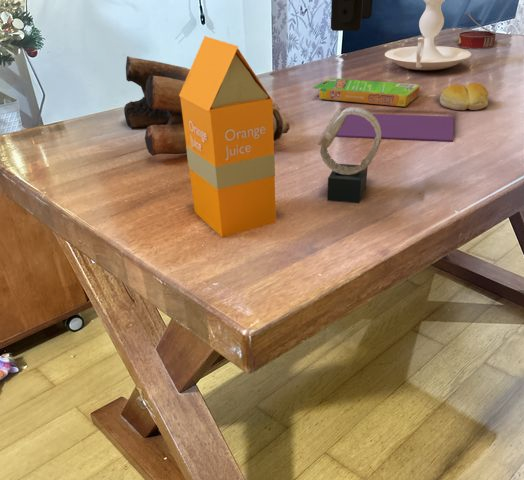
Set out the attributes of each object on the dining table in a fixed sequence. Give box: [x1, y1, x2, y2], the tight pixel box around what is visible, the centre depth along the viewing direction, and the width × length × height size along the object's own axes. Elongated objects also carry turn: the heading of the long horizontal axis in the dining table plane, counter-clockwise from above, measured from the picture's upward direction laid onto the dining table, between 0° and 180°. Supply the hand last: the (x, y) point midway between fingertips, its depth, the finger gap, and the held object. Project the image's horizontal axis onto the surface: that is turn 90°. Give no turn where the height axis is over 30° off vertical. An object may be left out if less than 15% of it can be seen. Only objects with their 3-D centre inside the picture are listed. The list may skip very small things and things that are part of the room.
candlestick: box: [384, 0, 472, 71], centre depth 125 cm, size 21×25×28 cm
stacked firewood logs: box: [123, 55, 290, 157], centre depth 95 cm, size 13×31×25 cm
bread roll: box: [439, 82, 489, 111], centre depth 105 cm, size 8×9×4 cm
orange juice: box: [179, 36, 277, 238], centre depth 64 cm, size 8×9×20 cm
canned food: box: [457, 11, 497, 50], centre depth 153 cm, size 11×10×10 cm
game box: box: [312, 78, 421, 108], centre depth 113 cm, size 3×10×20 cm
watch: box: [317, 106, 382, 204], centre depth 71 cm, size 6×8×11 cm
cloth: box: [335, 113, 455, 142], centre depth 97 cm, size 20×14×1 cm
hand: (352, 23), depth 62 cm, fingers open, 9 cm apart
